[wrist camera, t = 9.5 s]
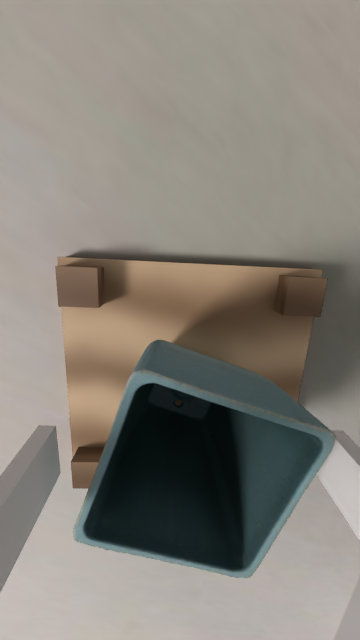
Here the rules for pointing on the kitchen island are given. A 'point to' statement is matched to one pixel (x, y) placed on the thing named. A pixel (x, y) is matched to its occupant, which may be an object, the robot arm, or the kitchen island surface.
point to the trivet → (174, 329)
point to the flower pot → (200, 464)
